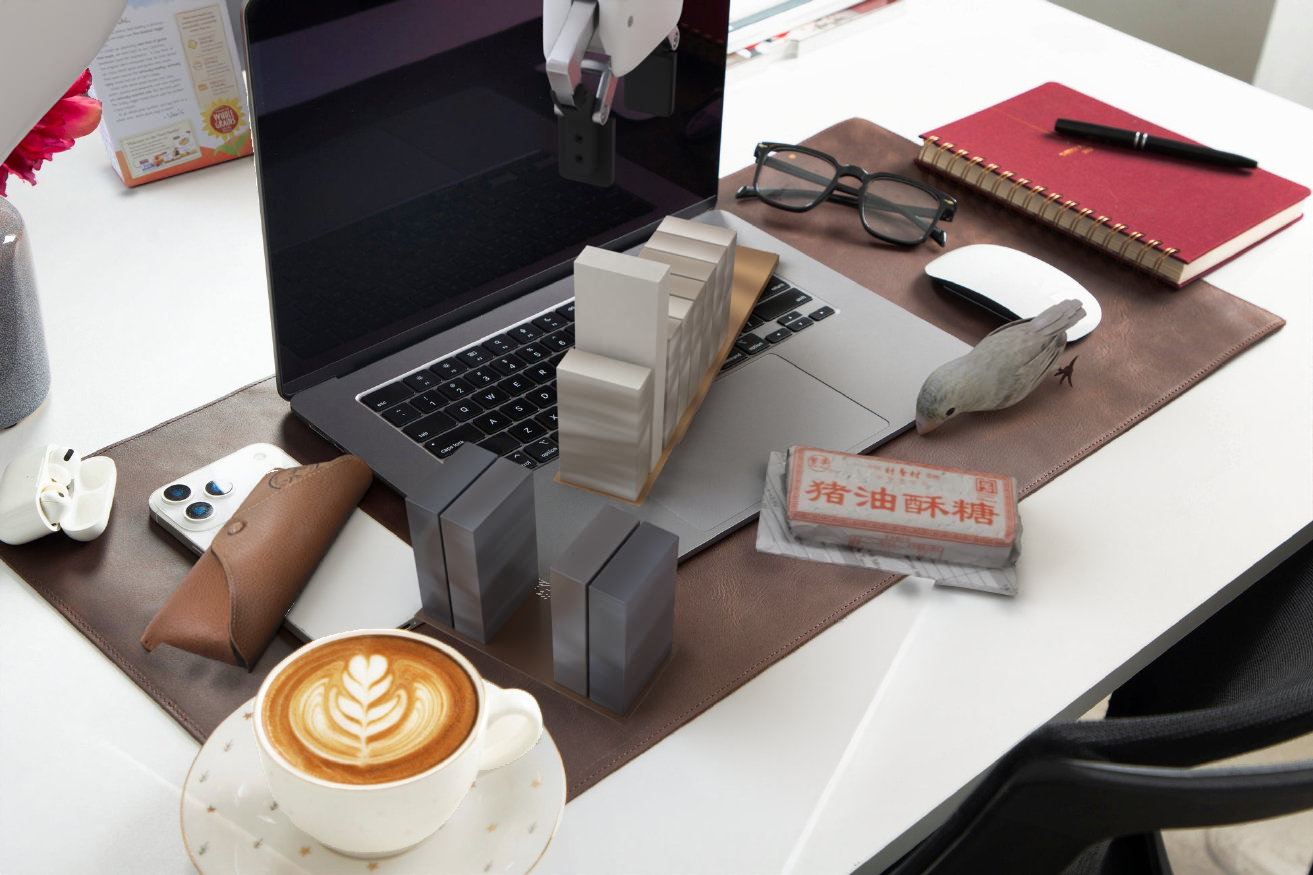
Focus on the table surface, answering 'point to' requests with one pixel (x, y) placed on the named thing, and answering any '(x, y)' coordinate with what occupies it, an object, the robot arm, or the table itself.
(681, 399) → the cream book rack
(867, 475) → the packaged product
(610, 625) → the grey book rack
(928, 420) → the decorative bird
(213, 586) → the sunglasses case
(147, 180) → the cracker box
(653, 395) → the cream book
